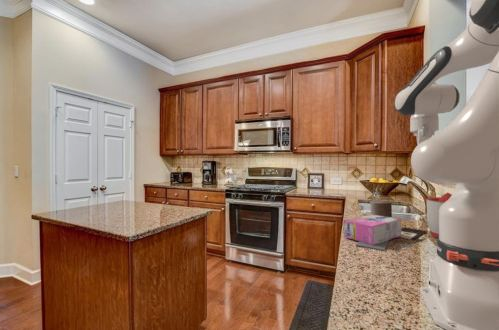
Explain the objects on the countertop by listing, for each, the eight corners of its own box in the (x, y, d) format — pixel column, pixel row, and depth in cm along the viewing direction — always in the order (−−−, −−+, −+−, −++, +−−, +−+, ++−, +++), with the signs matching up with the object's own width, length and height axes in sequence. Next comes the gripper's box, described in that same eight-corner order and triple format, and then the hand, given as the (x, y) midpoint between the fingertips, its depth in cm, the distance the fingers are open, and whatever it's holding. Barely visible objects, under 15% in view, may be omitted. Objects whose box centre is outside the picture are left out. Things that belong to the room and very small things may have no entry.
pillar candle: (396, 229, 120) (396, 199, 121) (381, 231, 117) (381, 200, 117) (380, 225, 130) (379, 197, 130) (366, 227, 126) (365, 198, 127)
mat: (384, 251, 91) (384, 249, 91) (356, 246, 97) (356, 244, 97) (391, 235, 110) (391, 234, 110) (367, 232, 116) (367, 231, 116)
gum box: (403, 235, 108) (374, 229, 120) (403, 218, 108) (374, 213, 120) (373, 245, 96) (343, 237, 107) (372, 225, 96) (343, 219, 107)
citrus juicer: (482, 240, 103) (482, 193, 103) (458, 245, 96) (457, 195, 96) (442, 230, 117) (441, 189, 117) (418, 235, 111) (418, 191, 111)
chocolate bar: (425, 231, 116) (414, 238, 104) (425, 232, 116) (414, 241, 104) (404, 227, 123) (391, 234, 111) (404, 229, 123) (391, 236, 111)
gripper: (435, 122, 82) (436, 162, 82) (433, 129, 98) (433, 163, 98) (413, 124, 85) (413, 163, 85) (414, 130, 102) (414, 163, 102)
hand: (424, 163), depth 92 cm, fingers open, 8 cm apart
